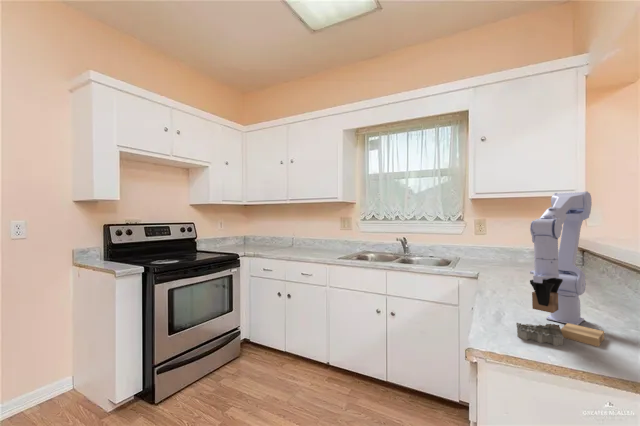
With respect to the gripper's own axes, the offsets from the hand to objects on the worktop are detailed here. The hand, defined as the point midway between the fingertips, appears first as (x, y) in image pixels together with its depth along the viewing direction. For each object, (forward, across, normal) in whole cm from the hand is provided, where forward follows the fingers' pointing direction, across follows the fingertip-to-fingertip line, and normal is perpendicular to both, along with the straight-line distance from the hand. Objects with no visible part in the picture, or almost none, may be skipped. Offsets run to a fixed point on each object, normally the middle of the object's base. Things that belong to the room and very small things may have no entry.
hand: (546, 303), depth 87 cm
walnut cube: (+2, 0, 0) cm, 2 cm away
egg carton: (+9, +8, 0) cm, 12 cm away
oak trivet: (+9, -2, +8) cm, 12 cm away
